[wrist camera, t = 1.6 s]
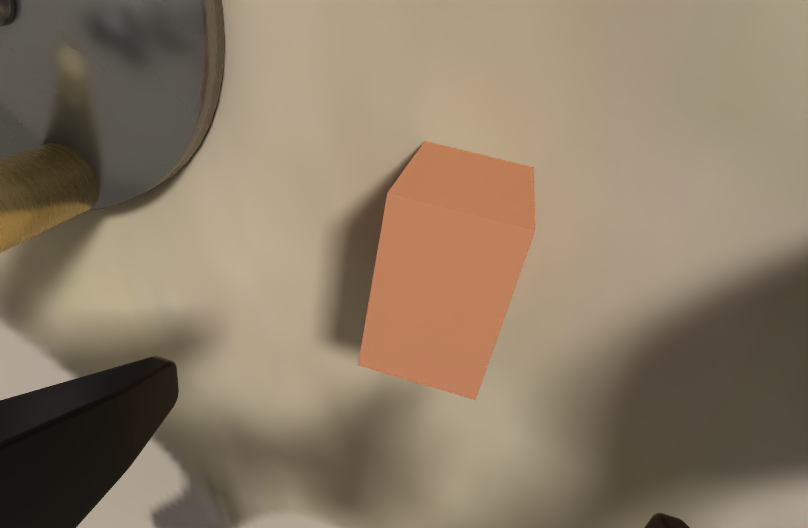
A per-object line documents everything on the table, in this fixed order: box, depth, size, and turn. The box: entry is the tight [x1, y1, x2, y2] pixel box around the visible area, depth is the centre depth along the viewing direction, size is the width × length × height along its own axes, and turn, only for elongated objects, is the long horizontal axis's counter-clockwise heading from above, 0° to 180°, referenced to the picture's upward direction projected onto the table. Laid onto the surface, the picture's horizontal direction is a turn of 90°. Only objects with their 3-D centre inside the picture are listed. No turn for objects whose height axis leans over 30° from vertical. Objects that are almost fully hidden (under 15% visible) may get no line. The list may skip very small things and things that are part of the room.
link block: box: [358, 141, 535, 400], centre depth 15 cm, size 4×6×5 cm, turn 170°
